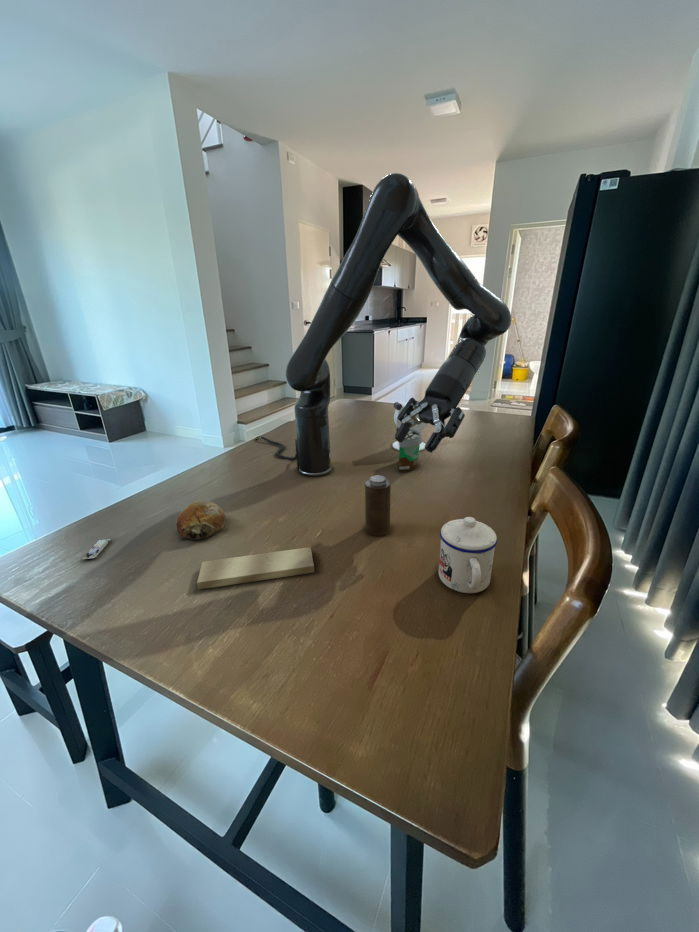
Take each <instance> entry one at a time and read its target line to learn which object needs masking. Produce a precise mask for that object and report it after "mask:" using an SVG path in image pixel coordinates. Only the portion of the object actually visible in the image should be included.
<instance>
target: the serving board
mask: <svg viewBox="0 0 699 932" xmlns="http://www.w3.org/2000/svg"><path fill="white" fill-rule="evenodd" d="M313 573H315V564H314V559H313V553H312V547H311V546H308V547H300V548H294V549H286V550H280V551H279V550H277V551H271V552H265V553H257V554H249V555H243V556H234V557H227V558H220V559H214V560H206V561H202V562H201V566H200V570H199V573H198V578H197V581H196V585H197V589H198V590H207V589H212V588H220V587H226V586H231V585H232V586H233V585H238V584H239V585H240V584H245V583H252V582H259V581H266V580H273V579H279V578H287V577H294V576H299V575H306V574H313Z"/></svg>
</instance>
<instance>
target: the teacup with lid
mask: <svg viewBox="0 0 699 932" xmlns="http://www.w3.org/2000/svg"><path fill="white" fill-rule="evenodd" d="M439 537H440V548H439V560H438V577H439V580H440V581H441V582H442V583H443V584H444V585H445V586H446V587H447V588H449V589H451V590H453V591H456V592H458V593H462V594H476V593H480V592H482V591H483V592H484V591H485V590H486V589H487V588H488V587H489V586H490V583H491V577H492V569H493V564H494V563H493V562H494V555H495V549H496V547H497V544H498V537H497V534H496V532H495V531H494V530H493V528H491V527H490V526H489V525H487V524H485V523H484V522H481V521H479V520H478V521H477V519H476V518H475V517H472V516H466V517H464V518H458V519H452V520H450V521H448V522H445V523H444V524H443V526H442V527H441V529H440V531H439Z"/></svg>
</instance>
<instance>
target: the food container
mask: <svg viewBox="0 0 699 932" xmlns="http://www.w3.org/2000/svg"><path fill="white" fill-rule="evenodd" d="M422 436H423V435H422V432H421V433H420V432H419V431H417V430H414V429H410V430H409V432H408V434H407V435H406V437H405V438H404V440H403V442H402V443H401V442H399V450H398V453H399V454H398V472H399V473H405V472H411V471H414V470H416V469H417V468H418V462H419V454H420V451H419V447H420V444H421V443H422V442H423V437H422Z"/></svg>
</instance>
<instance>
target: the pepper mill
mask: <svg viewBox="0 0 699 932" xmlns="http://www.w3.org/2000/svg"><path fill="white" fill-rule="evenodd" d="M391 485H392V483H391V481H390V480H389V479H386V477H385V476H384V475H379V474H378V475H377V474H376V475H372V476H370V477H369V478H368V479H367V480H366V481H365V482H364V509H365V514H364V515H365V517H364V519H365V532H366V533H367V534H368V535H370V536H372V537H373V536H374V537H383V536H386V535H388V534H389V533H390V531H391V496H392V495H391V494H392V493H391V492H392V491H391V490H392V489H391V487H392V486H391Z"/></svg>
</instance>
